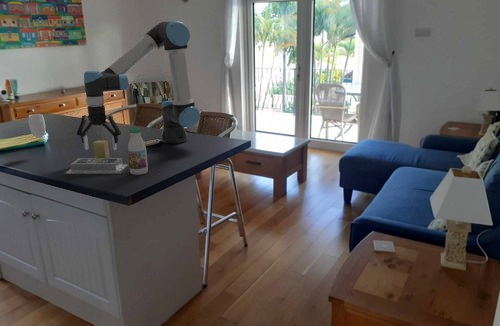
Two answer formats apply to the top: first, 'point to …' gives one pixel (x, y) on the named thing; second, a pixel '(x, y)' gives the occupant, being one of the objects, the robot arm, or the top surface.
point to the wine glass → (37, 125)
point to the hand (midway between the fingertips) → (100, 149)
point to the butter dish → (97, 166)
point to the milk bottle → (137, 153)
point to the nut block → (101, 149)
